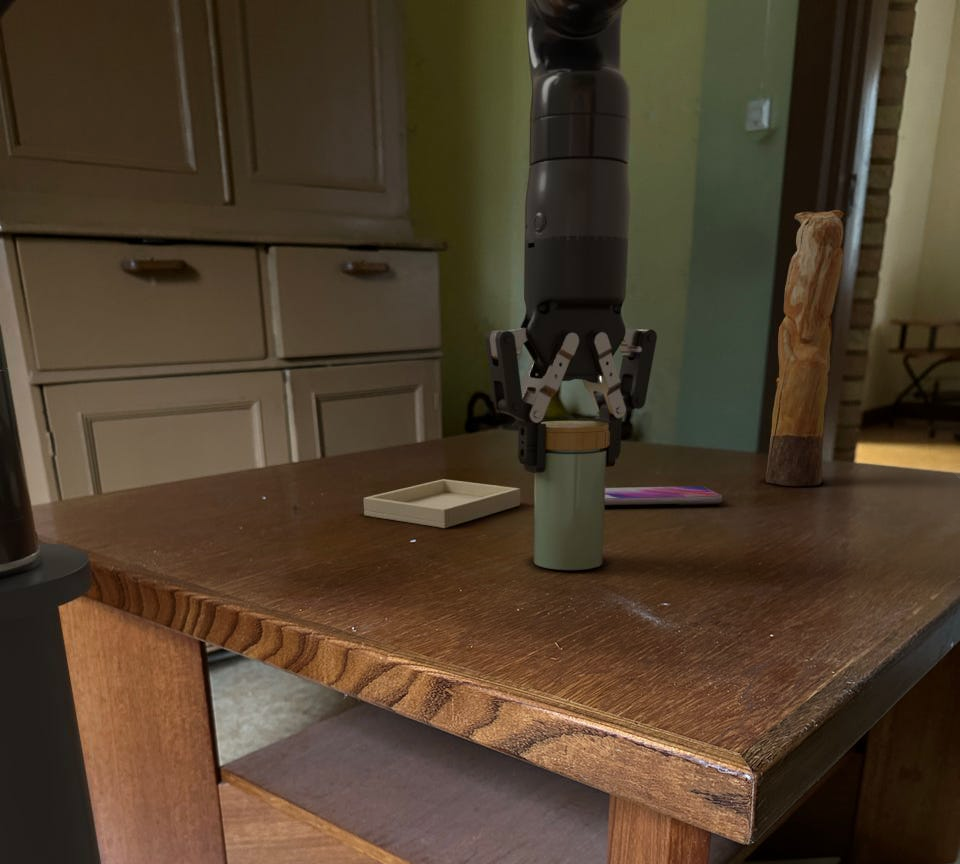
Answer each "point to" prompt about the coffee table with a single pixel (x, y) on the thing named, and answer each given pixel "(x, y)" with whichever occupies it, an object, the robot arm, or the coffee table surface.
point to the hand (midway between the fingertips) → (569, 467)
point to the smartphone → (661, 496)
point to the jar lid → (576, 435)
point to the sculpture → (805, 351)
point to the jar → (570, 510)
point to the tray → (442, 502)
